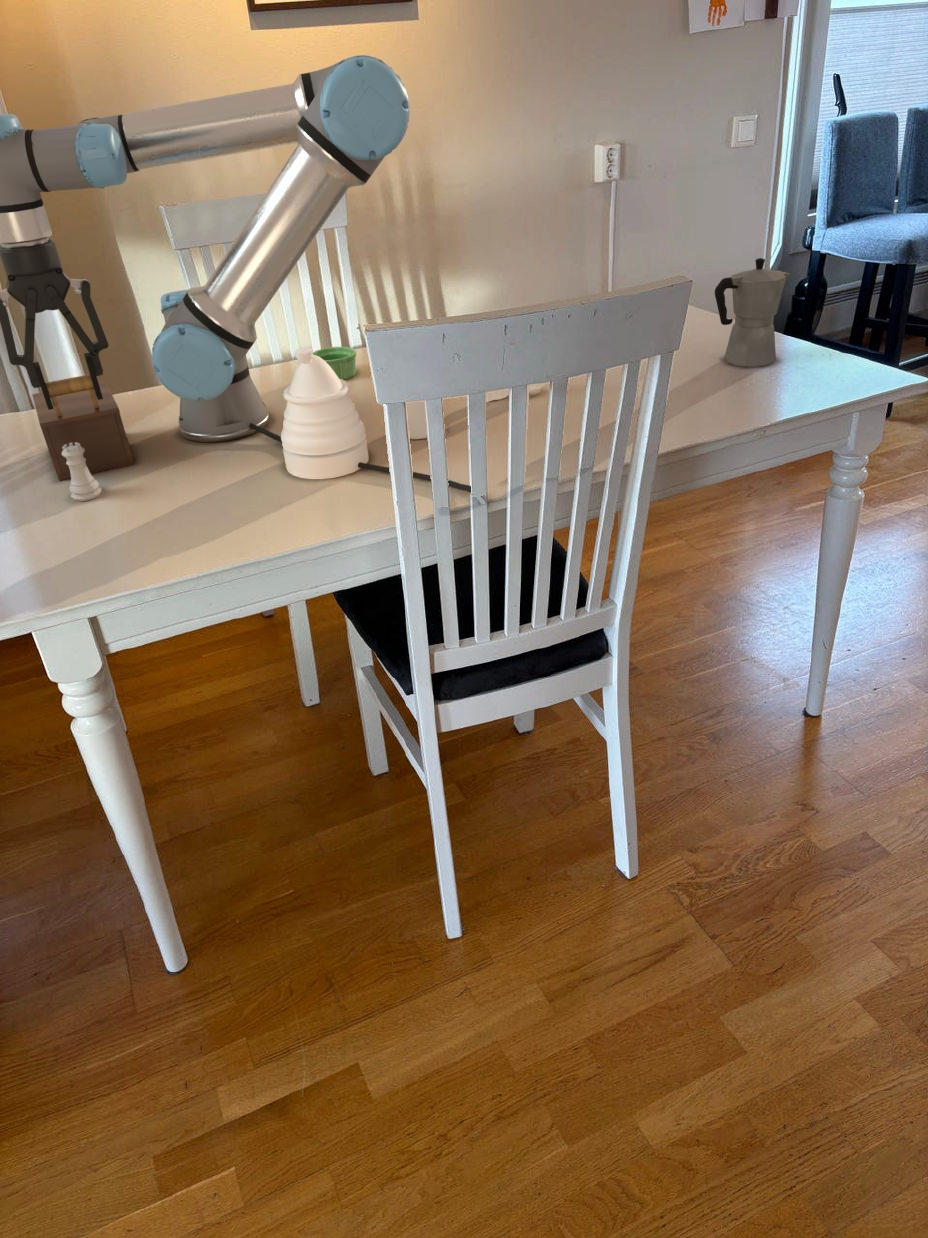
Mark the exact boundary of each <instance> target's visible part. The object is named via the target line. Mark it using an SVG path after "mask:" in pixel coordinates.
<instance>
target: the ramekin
mask: <svg viewBox="0 0 928 1238" xmlns="http://www.w3.org/2000/svg"><path fill="white" fill-rule="evenodd" d="M313 355H316V356H318V357H320V358H322V359H323V360H324V361H325V362H326V363H327V364H328V365H329V366H330V367H331V368H332V370H333V371H334V372H335V374H336V375H337V377H338V378H339V379H342V380H344V381H346V380H348V379H351V378H352V377H354V376H355V375H356V373H357V363H356V362H357V361H356V356H357V351H356V350H355V349H354V348H352V347H347V346H330V347H325V348H321V349H317V350H315V351H313Z"/></svg>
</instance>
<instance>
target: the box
mask: <svg viewBox="0 0 928 1238" xmlns="http://www.w3.org/2000/svg"><path fill="white" fill-rule="evenodd" d="M41 432H42V435H43V438H44V442H45V443H46V447H47V450H48V453H49V456H50V459H51V462H52V464H53V468H54V469H55V470H54V471H55V474H56V476H57V480H58V481H60V482H61V481H64V480H70V479H71V473H70V469H69V466H68V465H67V464H66V462H67V459H66V458H65V457H64V456H62V454H61V453H62V451H63V449H62V447H64V446H63V445H65V444H66V445H67V447H69V446H70V445H69V443H73V445H75V442H78V443H80V445H81V447H83V448H84V449H85V451H84V453H83V457H84V458H85V459H86V461H85V463H86V466H87V468H88V470H89V472H90V474H91V475H92V474H95V473H100V472H105V471H108V470H113V469H117V468H121V467H125V466H130V465H134V464H135V462H134V458H133V454H132V451H131V448H130V444H129V441H128V437H127V433H126V430H125V426H124V422H123V420H122V416H121V412H120V413H115V414H110V415H105V416H100V417H95V418H91V419H86V420H81V421H76V422H71V423H66V424H62V425H57V426H52V427H47V428H42V429H41Z"/></svg>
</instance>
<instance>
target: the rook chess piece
mask: <svg viewBox="0 0 928 1238" xmlns="http://www.w3.org/2000/svg"><path fill="white" fill-rule="evenodd" d="M69 445H70V446H69V447H67V445H66V444H65V445H63V446H64V447H62V449H63V451H62V453H61V454H62V456H64V457H65V458H66V459H67V462H66V464H67V465H68V466H69V469H70V473H71V478H70V483H69V484H70V485H69V487H68V488H69V492H70V493H71V494H70V497H71V498H72V499H73V500H75V501H77V502H87V501H91V500H93V499H96V498H98V497H99V496H100V495H101V493H102V491H103V489H102V487H100V482H99V481H98V480H97V479H95V476H93V475H92V473H91V474H90V472H89V470H88V468H87V466H86V463H85V461H86V459H85V458H84V457H83V453H84V451H85V449H84V448H83V447H81V445H80V443H78V442H75V445H73V443H69Z"/></svg>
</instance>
